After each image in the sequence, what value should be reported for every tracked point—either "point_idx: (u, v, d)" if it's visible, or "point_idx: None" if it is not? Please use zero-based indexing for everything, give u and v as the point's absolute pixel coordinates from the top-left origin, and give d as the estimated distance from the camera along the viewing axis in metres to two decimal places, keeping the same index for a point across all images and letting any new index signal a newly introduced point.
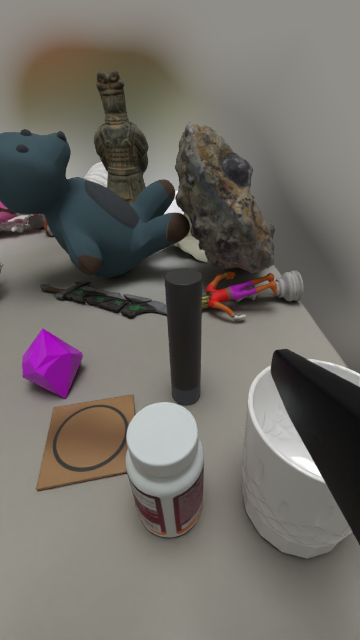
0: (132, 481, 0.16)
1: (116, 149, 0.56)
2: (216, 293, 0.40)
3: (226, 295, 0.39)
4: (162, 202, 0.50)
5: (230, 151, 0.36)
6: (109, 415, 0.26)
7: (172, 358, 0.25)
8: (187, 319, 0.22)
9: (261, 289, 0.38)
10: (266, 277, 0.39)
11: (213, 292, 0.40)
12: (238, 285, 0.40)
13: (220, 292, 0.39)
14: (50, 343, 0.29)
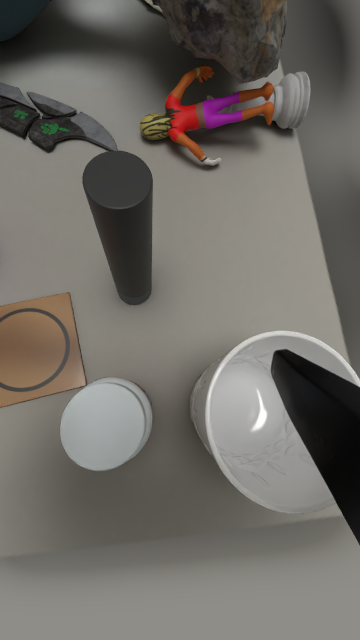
0: None
1: None
2: (181, 115, 0.25)
3: (196, 121, 0.25)
4: None
5: None
6: (43, 323, 0.22)
7: (113, 272, 0.18)
8: (129, 245, 0.14)
9: (250, 115, 0.25)
10: (261, 91, 0.24)
11: (177, 112, 0.25)
12: (216, 101, 0.25)
13: (188, 113, 0.25)
14: None
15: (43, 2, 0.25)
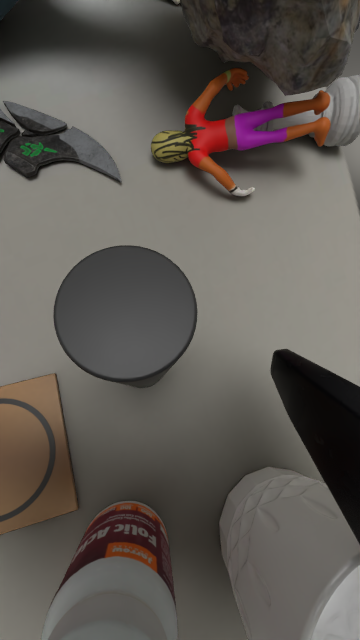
0: None
1: None
2: (206, 133, 0.19)
3: (225, 141, 0.19)
4: None
5: None
6: (19, 419, 0.16)
7: None
8: (145, 383, 0.08)
9: (297, 135, 0.19)
10: (314, 103, 0.18)
11: (200, 129, 0.19)
12: (252, 116, 0.19)
13: (215, 131, 0.19)
14: None
15: None
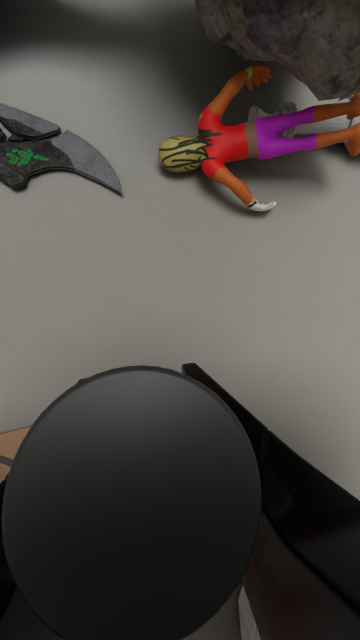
0: None
1: None
2: (222, 140, 0.17)
3: (245, 149, 0.17)
4: None
5: None
6: (2, 480, 0.14)
7: None
8: None
9: (328, 143, 0.16)
10: (350, 107, 0.16)
11: (216, 135, 0.17)
12: (277, 121, 0.16)
13: (233, 137, 0.17)
14: None
15: None
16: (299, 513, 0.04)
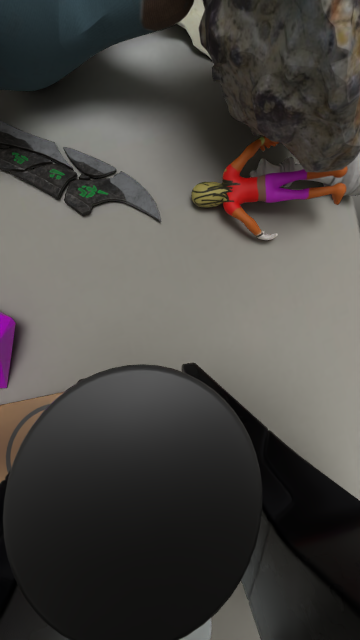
0: None
1: None
2: (240, 188, 0.23)
3: (256, 195, 0.23)
4: None
5: None
6: None
7: None
8: None
9: (317, 195, 0.22)
10: (334, 171, 0.22)
11: (235, 185, 0.23)
12: (280, 177, 0.23)
13: (248, 187, 0.23)
14: None
15: (87, 56, 0.23)
16: (299, 513, 0.04)
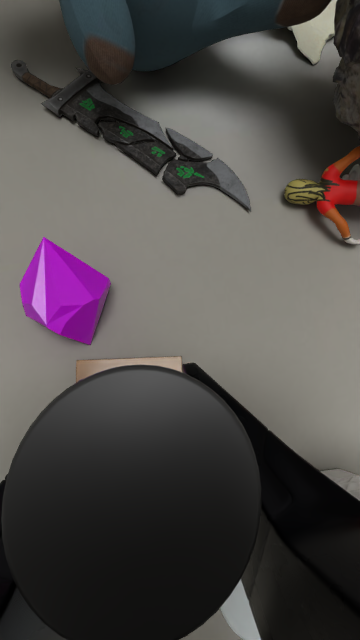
0: None
1: None
2: (338, 189, 0.23)
3: (353, 198, 0.23)
4: None
5: None
6: None
7: None
8: None
9: None
10: None
11: (334, 185, 0.23)
12: None
13: (347, 189, 0.23)
14: (63, 275, 0.18)
15: (208, 44, 0.24)
16: (299, 513, 0.04)
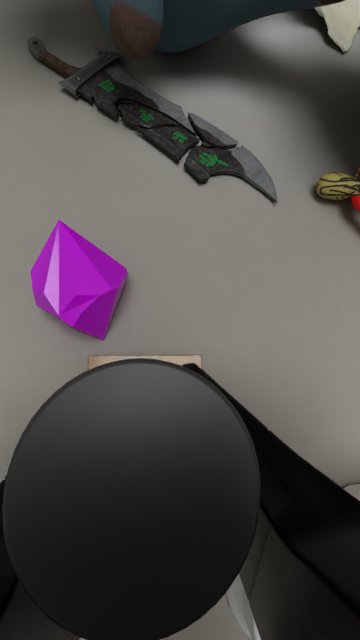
0: (236, 619, 0.12)
1: None
2: None
3: None
4: None
5: None
6: None
7: None
8: None
9: None
10: None
11: None
12: None
13: None
14: (78, 262, 0.16)
15: (237, 24, 0.22)
16: (299, 513, 0.04)
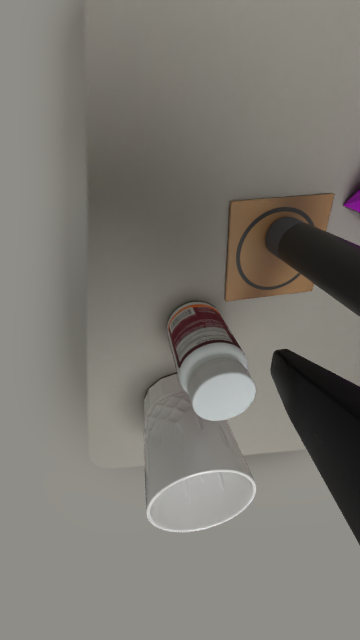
0: (195, 351, 0.18)
1: None
2: None
3: None
4: None
5: None
6: None
7: (318, 246, 0.16)
8: None
9: None
10: None
11: None
12: None
13: None
14: None
15: None
16: None
